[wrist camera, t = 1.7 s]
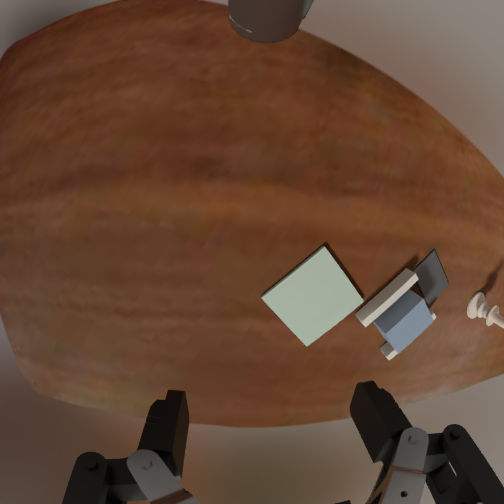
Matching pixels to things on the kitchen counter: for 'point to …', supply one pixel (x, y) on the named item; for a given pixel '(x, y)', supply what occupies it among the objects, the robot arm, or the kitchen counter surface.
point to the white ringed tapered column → (484, 310)
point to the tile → (313, 297)
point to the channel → (427, 279)
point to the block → (404, 320)
